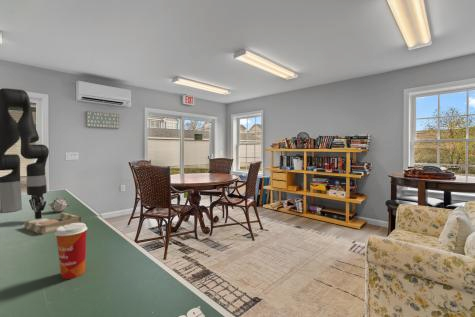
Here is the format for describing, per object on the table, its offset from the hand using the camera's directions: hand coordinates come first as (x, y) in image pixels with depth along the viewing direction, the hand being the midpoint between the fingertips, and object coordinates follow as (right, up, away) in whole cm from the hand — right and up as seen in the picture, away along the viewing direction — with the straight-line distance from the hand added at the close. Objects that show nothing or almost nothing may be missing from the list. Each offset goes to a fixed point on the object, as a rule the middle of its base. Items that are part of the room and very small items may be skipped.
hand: (38, 218), depth 118 cm
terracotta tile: (+13, -2, -10) cm, 17 cm away
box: (+14, -2, -8) cm, 16 cm away
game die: (-2, -1, +17) cm, 17 cm away
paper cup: (+53, -3, -50) cm, 72 cm away
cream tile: (+7, -2, -8) cm, 11 cm away
